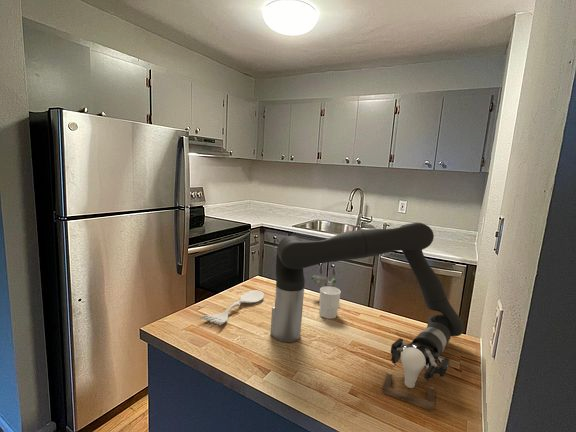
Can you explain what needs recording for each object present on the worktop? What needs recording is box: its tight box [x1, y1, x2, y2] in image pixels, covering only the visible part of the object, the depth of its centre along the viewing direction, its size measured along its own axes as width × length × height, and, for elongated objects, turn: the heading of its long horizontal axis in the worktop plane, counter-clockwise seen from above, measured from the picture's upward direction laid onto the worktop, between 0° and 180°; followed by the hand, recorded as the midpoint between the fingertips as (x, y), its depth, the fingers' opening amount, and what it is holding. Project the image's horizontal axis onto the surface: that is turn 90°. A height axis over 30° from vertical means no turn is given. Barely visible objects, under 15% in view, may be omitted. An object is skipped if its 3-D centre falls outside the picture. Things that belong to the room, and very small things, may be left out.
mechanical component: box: [311, 274, 337, 289], centre depth 133 cm, size 3×10×10 cm, turn 78°
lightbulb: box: [400, 347, 426, 389], centre depth 82 cm, size 6×6×11 cm
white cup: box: [318, 286, 342, 320], centre depth 119 cm, size 8×8×10 cm
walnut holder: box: [381, 372, 435, 412], centre depth 80 cm, size 12×7×1 cm, turn 64°
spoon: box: [200, 289, 265, 326], centre depth 119 cm, size 9×32×4 cm, turn 154°
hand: (409, 368), depth 80 cm, fingers open, 8 cm apart
